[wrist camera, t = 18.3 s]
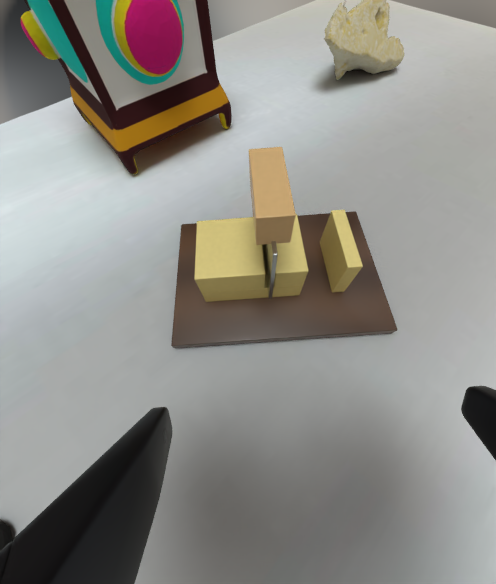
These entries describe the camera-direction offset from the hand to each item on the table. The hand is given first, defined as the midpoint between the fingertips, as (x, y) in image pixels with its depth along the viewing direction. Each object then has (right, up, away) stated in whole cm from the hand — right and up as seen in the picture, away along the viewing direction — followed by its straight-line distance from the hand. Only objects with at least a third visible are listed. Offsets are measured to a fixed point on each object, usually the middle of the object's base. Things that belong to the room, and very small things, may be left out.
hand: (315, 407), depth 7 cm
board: (+1, +5, +18) cm, 18 cm away
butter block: (-2, +6, +17) cm, 18 cm away
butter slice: (+6, +6, +17) cm, 19 cm away
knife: (0, +6, +15) cm, 16 cm away
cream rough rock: (+16, +41, +35) cm, 56 cm away
